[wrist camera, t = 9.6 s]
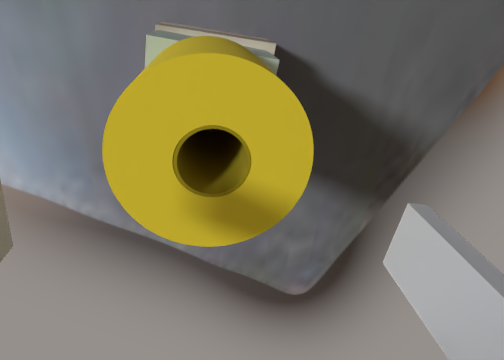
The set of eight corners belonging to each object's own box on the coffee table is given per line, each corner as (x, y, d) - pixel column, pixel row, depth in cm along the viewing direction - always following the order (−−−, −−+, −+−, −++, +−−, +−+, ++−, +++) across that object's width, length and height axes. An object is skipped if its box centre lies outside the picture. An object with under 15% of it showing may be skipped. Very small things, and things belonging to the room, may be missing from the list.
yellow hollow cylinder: (250, 185, 28) (271, 261, 20) (125, 153, 25) (87, 225, 17) (297, 64, 24) (347, 96, 16) (155, 12, 21) (124, 16, 13)
